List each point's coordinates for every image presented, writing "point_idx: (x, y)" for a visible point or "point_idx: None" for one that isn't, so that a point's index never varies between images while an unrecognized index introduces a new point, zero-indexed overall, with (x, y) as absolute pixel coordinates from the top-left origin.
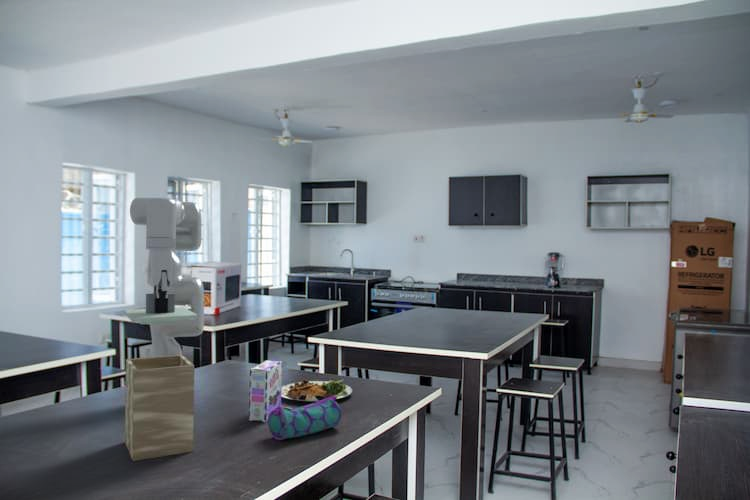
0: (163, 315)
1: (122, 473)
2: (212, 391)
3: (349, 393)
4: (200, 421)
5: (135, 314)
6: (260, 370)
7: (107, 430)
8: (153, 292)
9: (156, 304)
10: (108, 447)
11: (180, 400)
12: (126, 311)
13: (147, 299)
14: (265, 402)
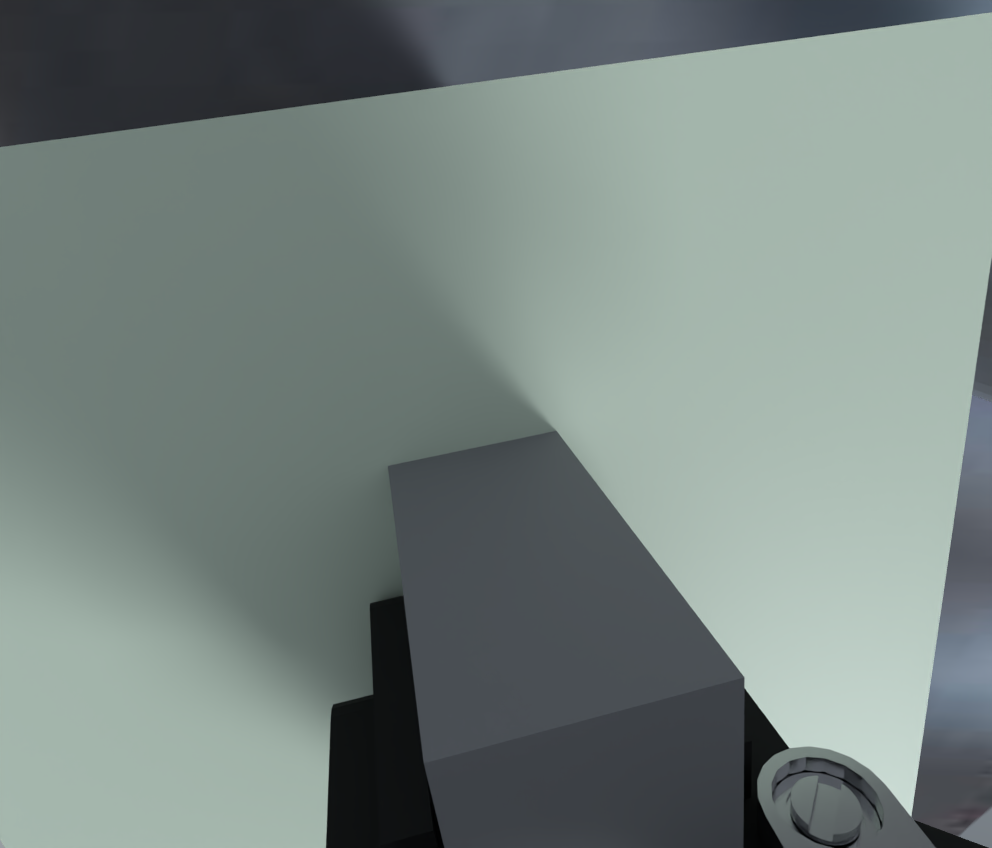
0: (118, 730)
1: (89, 131)
2: (966, 488)
3: None
4: None
5: (296, 251)
6: None
7: (657, 56)
8: (890, 843)
9: (381, 734)
10: (429, 64)
11: None
12: (774, 53)
13: (410, 649)
14: None
